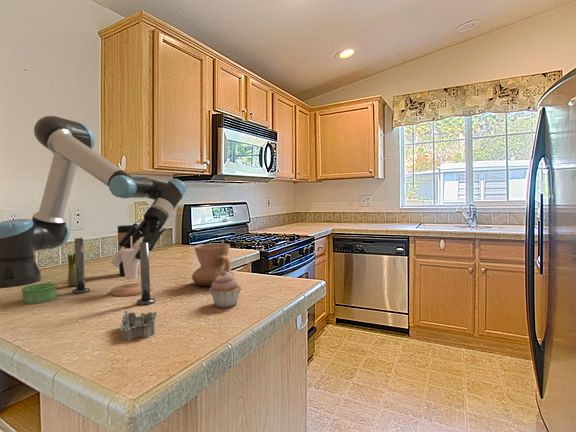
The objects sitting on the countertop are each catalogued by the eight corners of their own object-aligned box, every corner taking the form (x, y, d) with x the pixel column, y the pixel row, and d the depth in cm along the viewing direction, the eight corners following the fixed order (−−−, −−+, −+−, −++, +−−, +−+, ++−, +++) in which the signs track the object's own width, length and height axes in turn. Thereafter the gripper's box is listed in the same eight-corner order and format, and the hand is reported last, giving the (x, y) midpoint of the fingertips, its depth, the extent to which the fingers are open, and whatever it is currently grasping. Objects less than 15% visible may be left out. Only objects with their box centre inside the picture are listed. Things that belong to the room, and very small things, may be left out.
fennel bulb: (70, 288, 121) (68, 254, 120) (64, 286, 124) (63, 253, 123) (87, 284, 125) (86, 252, 125) (82, 283, 128) (80, 250, 128)
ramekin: (54, 294, 113) (53, 281, 113) (60, 300, 107) (60, 286, 107) (19, 300, 107) (19, 286, 107) (24, 306, 101) (23, 291, 101)
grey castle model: (125, 326, 85) (124, 309, 85) (157, 322, 87) (157, 306, 87) (118, 342, 75) (117, 324, 75) (155, 338, 77) (154, 320, 77)
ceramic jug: (183, 283, 126) (182, 244, 125) (217, 277, 136) (217, 241, 135) (208, 293, 113) (207, 250, 112) (245, 285, 123) (244, 245, 122)
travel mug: (142, 272, 146) (141, 225, 145) (133, 276, 138) (131, 226, 137) (125, 272, 147) (124, 225, 146) (115, 276, 139) (113, 226, 138)
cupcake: (206, 302, 103) (205, 269, 102) (237, 298, 106) (236, 266, 106) (212, 311, 94) (211, 275, 94) (245, 307, 98) (245, 272, 97)
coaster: (102, 293, 114) (101, 290, 113) (134, 284, 125) (134, 281, 125) (130, 298, 108) (129, 294, 108) (161, 288, 120) (161, 285, 120)
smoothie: (145, 276, 118) (144, 235, 117) (131, 280, 112) (130, 237, 111) (131, 275, 120) (129, 235, 119) (116, 279, 114) (114, 237, 113)
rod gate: (68, 292, 115) (66, 239, 114) (83, 289, 119) (81, 237, 118) (145, 306, 100) (143, 244, 99) (158, 301, 104) (156, 242, 103)
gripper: (184, 220, 125) (150, 274, 111) (145, 219, 133) (109, 269, 119) (173, 206, 120) (135, 261, 106) (133, 206, 128) (94, 256, 114)
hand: (121, 265), depth 113 cm, fingers closed on smoothie, 6 cm apart
